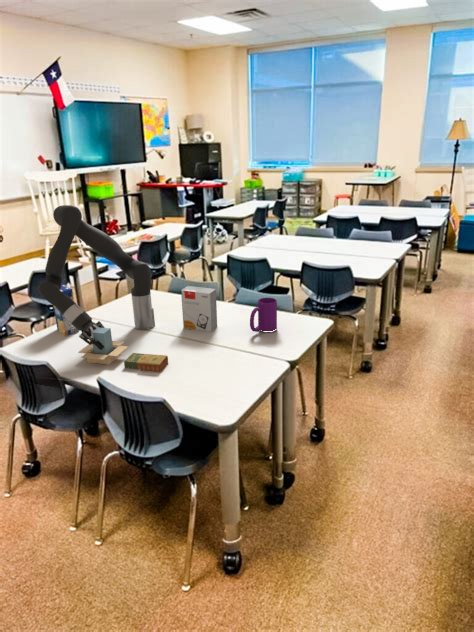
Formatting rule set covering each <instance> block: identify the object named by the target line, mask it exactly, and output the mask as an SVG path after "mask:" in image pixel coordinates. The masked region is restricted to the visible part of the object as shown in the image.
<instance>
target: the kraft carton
mask: <svg viewBox="0 0 474 632" xmlns="http://www.w3.org/2000/svg"><path fill="white" fill-rule="evenodd" d="M112 343H113V351H112V352H111V353H110V354H109V355H102V354H94V350H93V344H91V345H89V344H87V345H86V346H85V347H83V348H82V349H80V350H78V354H83V355H82V356H81V359H87V363H90V364H99V365H100V364H101V365H111V364H112V363H113V362H114V361H116V360H117V359H118V358H120V356H122V354H123V352H124V351H126V350H127V349H128V348H129V346H128V345H127V346H126V345H124V343H125V341H118V340H112Z"/></svg>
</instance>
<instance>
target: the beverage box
mask: <svg viewBox="0 0 474 632" xmlns="http://www.w3.org/2000/svg"><path fill="white" fill-rule="evenodd" d="M60 290H61V291H62V292H63V293H64V294H65V295H67V296H68V297H70V298H71V299H72V300H73V301H74V302H75V298H74V290H73V288H71V287H70V286H68V285H66V284H61V289H60ZM52 307H53V312H54V318H55V323H56V329H57V330H58V332H60V333H61V334H63V335H64V336H69V335H72V334H77V333H79V332H80V331H78V330H77V329H76V328H75V327H74V326H73V325H72V324H71V323H70V322H69V321H68V320H67V319H66V318H65V316H64V315H63V314H62V313H61V312H60V311H59V310H58V309H57V308H56V307H55V306H54V305H52ZM76 332H77V333H76Z"/></svg>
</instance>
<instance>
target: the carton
mask: <svg viewBox="0 0 474 632" xmlns="http://www.w3.org/2000/svg"><path fill="white" fill-rule="evenodd" d="M123 365H124V369H129V370H130V369H132V370H133V369H134V370H139V371H141V372H150V373H152V372H153V373H162V372H163V370H164V369H165V368H166V367H167V366H168V365H169V359H168V355H167V354H165V355H163V354H151V353H149V354H148V353H139V352H138V353H137V352H132V353H131V354H130V355H129V356H128V357H127V358H126V359H125V360H124V361H123Z"/></svg>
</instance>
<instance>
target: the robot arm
mask: <svg viewBox="0 0 474 632" xmlns="http://www.w3.org/2000/svg"><path fill="white" fill-rule="evenodd" d="M52 213H53V216H52V217H53V220H54V222H55V223H56V225H58V226H59V227H60V230H59V233H58V236H57V238H56V241H55V242H54V244H53V246H52V248H51V249H50V251H49V254H48V257H47V260H46V264H45V269H44V270H45V274H46V275H45V280H43V281H41V282H40V283H39V284H38V287H37V289H38V293H39V295H41V297H42V298H43V299H44V300H45V301H47V302H48V303H50V304H51V305H52V306H53V305H54V306H55V307H56V308H57V309H58V310H59V311H60V312H61V313H62V314H63V315H64V316H65V318H66V319H67V320H68V321H69V322H70V323H71V324H72V325H73V326H74V327H75V328H76V329H77V330H78V331H79V332H81V333H80V334H79V335H78V337H79V338H80V339H81V340H82V341H84V342H85V343H87V345H91V344H94V345H95V346H97V347H98V348H99V349H100V350H102V349H103V348H104V346H103V345H102V344H101V343H100V342H99V341H98V340H97V338H96V337H95V335H94V334H93V333H92V336H91V332H92V331H93V330H95V329H97V328H99V327H100V328H106V327H105V326H104V325H103V324H102V322H101V321H100V320H99V321H97V322H93V318H92V317H91V316H90V314H88V313H87V311H85V310H84V308H82V307H81V306H80V305H78V304H77V303H76V302H75V300H74V301H73V300H72V299H71V298H70V297H68V296H67V295H65V294H64V293H63V292H62V291H61V290H60V289H61V285H62V282H63V272H64V270H65V266H66V263H67V258H68V255H69V253H70V252H69V251H70V249H71V246H72V243H73V241H74V238H75V236H76V237H77V238H79V239H80V240H81V242H83V243H84V244H86V246H88V247H90V248H91V249H92V250H93V251H94V252H95V253H97V254H99V255H100V256H101V257H103V258H104V259H106V260H107V261H109V262H111V263H112V264H114V265H116V267H118V268H119V269H120V270H121V271H122V272H123V273H124V274H125V275H127V276H128V277H129V278H130V279H132V280H133V287H131V289H130V292H131V293H130V294H131V302H132V313H133V320H134V328H135V329H137V330H141V331H143V330H149V329H152V328H154V327H156V322H155V321H156V318H155V312H154V309H155V308H154V307H153V303H152V295H151V289H152V272H151V268H150V266H149V264H148V263H146V262H143V261H140V260H137V259H135V258H134V257H132V256H130V255H129V254H128V253H126V252H125V251H124V249H123V248H122V247H121V246H120V244H119V243H118V242H117V241H116V240H115V239H114V238H113V237H112V236H110V235H109V234H107V233H106V232H104V231H102V230H100V229H99V228H97V227H94V226H93V225H91V224H89V223H87V222H86V221H84V220H83V215H82V214H83V213H82V212H81V210H80V209H79V207H77V206H76V205H72V204H71V205H70V204H68V205H67V204H63V205H59V206H57V207H56V208H55V209H54V210H53V212H52ZM92 338H93V339H94V340H93V339H92Z"/></svg>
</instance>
